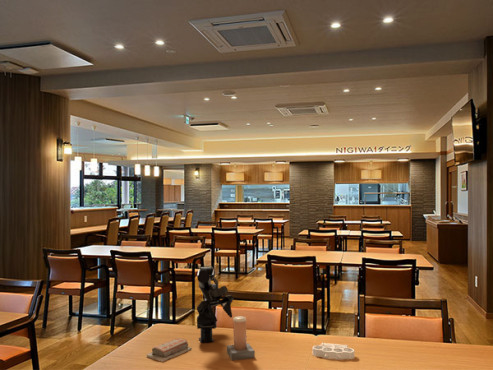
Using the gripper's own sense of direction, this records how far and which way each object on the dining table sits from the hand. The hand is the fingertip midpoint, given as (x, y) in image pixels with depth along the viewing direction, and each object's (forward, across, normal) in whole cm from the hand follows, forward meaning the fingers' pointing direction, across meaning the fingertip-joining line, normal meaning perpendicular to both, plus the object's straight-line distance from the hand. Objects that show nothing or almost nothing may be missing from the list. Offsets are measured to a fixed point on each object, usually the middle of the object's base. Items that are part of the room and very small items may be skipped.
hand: (224, 319), depth 198 cm
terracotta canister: (+15, 0, 0) cm, 15 cm away
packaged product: (0, -20, +20) cm, 28 cm away
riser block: (+17, 0, +2) cm, 17 cm away
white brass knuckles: (+38, +29, -18) cm, 51 cm away
